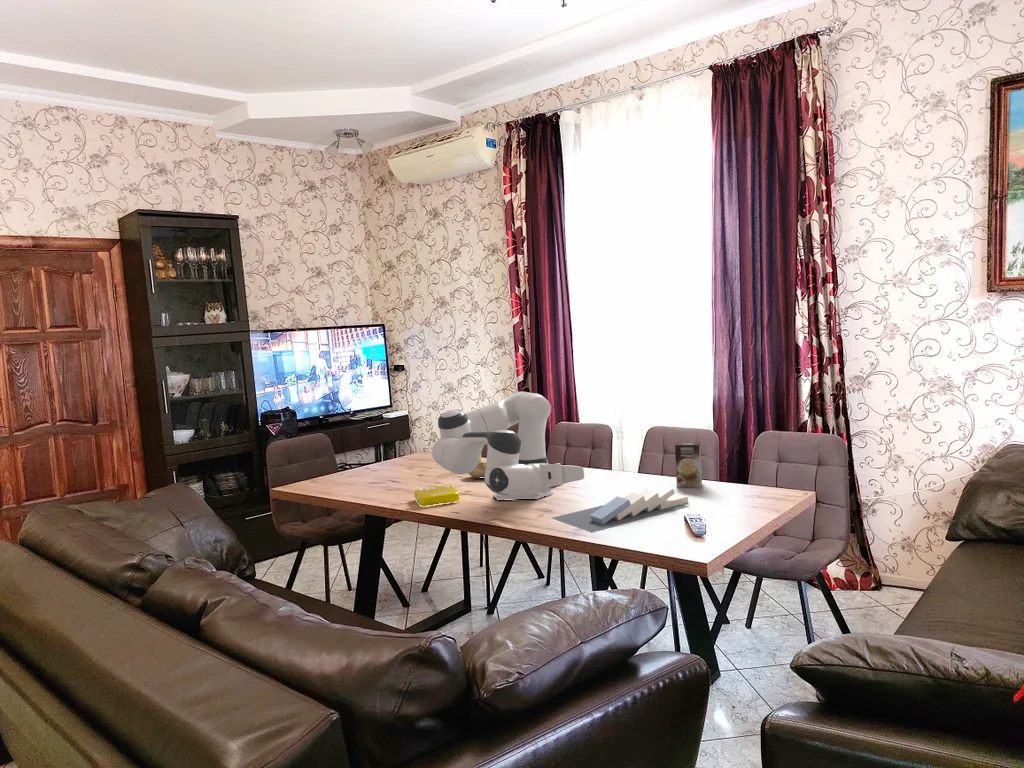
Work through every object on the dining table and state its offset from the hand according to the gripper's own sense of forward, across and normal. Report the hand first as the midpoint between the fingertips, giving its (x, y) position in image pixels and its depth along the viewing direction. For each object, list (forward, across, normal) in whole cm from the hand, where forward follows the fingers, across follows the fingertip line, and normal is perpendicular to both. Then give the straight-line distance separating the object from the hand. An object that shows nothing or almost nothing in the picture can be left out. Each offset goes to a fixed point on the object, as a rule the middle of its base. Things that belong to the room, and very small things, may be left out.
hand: (574, 476), depth 215 cm
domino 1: (+14, -1, -13) cm, 19 cm away
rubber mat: (+22, -4, -13) cm, 25 cm away
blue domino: (+8, -2, -14) cm, 16 cm away
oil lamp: (+26, -88, +10) cm, 92 cm away
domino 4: (+32, +2, -11) cm, 34 cm away
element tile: (-7, -72, 0) cm, 72 cm away
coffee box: (+65, -10, -4) cm, 66 cm away
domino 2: (+20, 0, -12) cm, 23 cm away
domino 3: (+26, +1, -11) cm, 29 cm away
